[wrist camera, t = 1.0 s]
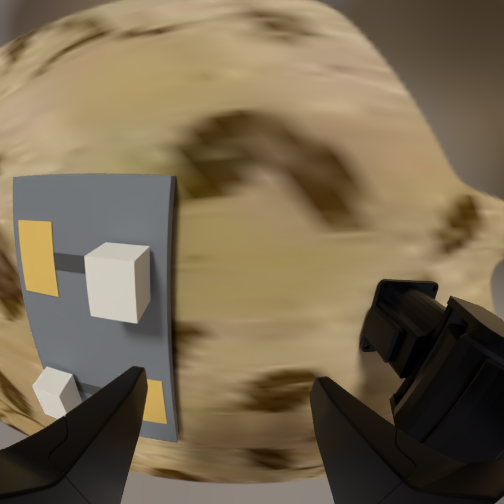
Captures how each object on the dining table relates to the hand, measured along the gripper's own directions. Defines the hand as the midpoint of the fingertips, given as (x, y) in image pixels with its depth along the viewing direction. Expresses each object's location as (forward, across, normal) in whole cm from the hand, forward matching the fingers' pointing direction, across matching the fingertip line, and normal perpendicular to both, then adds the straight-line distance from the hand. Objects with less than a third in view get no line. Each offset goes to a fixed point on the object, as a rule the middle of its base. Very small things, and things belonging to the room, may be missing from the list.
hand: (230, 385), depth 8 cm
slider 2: (+9, +6, 0) cm, 11 cm away
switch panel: (+11, +10, +6) cm, 16 cm away
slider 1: (+9, +14, +12) cm, 21 cm away
